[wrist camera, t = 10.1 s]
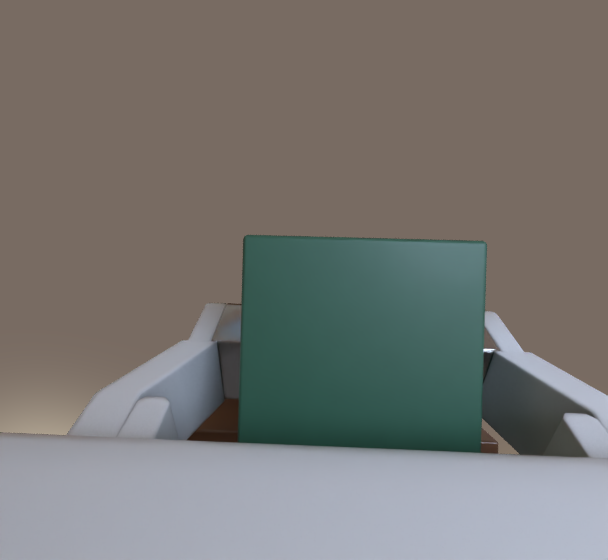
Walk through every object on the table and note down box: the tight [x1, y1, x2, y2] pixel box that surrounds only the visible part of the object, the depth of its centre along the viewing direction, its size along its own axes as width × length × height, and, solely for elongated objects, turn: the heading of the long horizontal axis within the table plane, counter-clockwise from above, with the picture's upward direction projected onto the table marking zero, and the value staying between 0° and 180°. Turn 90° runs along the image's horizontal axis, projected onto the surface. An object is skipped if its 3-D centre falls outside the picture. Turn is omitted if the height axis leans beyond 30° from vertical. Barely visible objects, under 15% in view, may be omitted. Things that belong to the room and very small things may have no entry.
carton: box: [237, 235, 487, 453], centre depth 18 cm, size 22×4×5 cm, turn 178°
